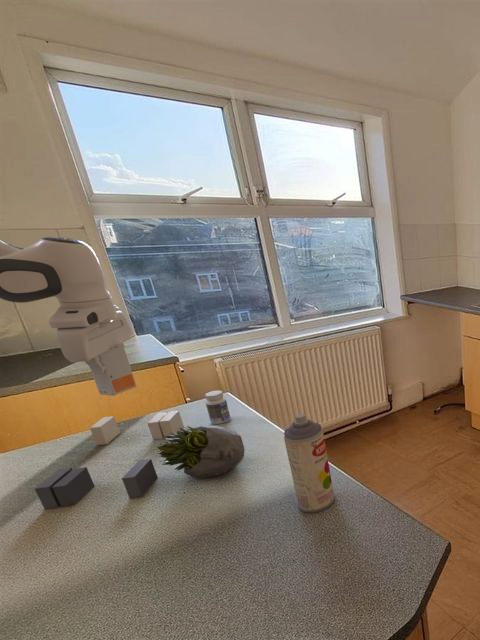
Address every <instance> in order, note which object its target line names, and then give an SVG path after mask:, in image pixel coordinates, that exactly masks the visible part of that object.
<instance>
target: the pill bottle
mask: <svg viewBox="0 0 480 640" xmlns="http://www.w3.org/2000/svg"><path fill="white" fill-rule="evenodd" d="M204 396H205V406H206V409H207V413H208V416H209V421H210V423H211V424H214V425H218V424H219V425H220V424H225V423H227V422H228V421H230V420H231V414H230V411H229V406H228V401H227V399H226V397H225V396H224V392H223V391H222V390H212V391H209V392H207V393H205V394H204Z"/></svg>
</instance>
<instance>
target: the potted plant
mask: <svg viewBox="0 0 480 640" xmlns="http://www.w3.org/2000/svg"><path fill="white" fill-rule="evenodd" d="M186 427H187V429H184V428H183V429H182V428H180V427H179V428H180V429H181V431H177V432H176V433H177V434H173V433H171V434H172V435H171V436H169V435H167V436H166V437H167V438H163V439H162V440H164V442H160V443H159V445H160V446H157V447H156V449H157V450H159V451H158V453H157V455H158V456H157V457H159V458H164V459H162V460H161V461H159V462H162V465H163V466H175V465H178V466H177V467H175V468H174V470H176V471H177V472H178V471H181V470H183V473H184V474H185V475H188V476H190V477H191V478H194V479H201V478H208V477H214V476H219V475H223V474H224V473H226V472H228V471H230V470H232V469H233V468H235V467H237V466H238V465H239V464H241V462H242V460H243V459H244V457H245V446H244V442H243V439H242V436H241V434H240V433H238V431H235V430H232V429H230V428H227V427H224V426H218V425H212V424H210V425H203V426H198V427H197V426H196V427H191V426H189V425H186Z"/></svg>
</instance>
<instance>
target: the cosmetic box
mask: <svg viewBox="0 0 480 640" xmlns="http://www.w3.org/2000/svg"><path fill="white" fill-rule="evenodd" d="M123 343H124V342H123ZM123 343H122V342H116V343H114V344H112V345H110V347H109V350H108V351H106V352H104V353H102V354H101V355H99V360H98V361H99V362H100V364H101V365H105V369H106V372H105V373H103V374H98V375H96V374H94V373H93V370H92V368H91V367H90V366H89V370H90V372H91V374H92V378H93V380H94V383H95V386H96V389H97V391H98V394H99V395H101V396H102V395H103V396H113V397H114V396H117V395H119V394H122V393H124V392H126V391H129V390H133V389H136V388H137V383H136V379H135V377H134V374H133V371H132V368H131V365H130V361H129V357H128V355H127V352H126V350H125V345H124V346H123Z"/></svg>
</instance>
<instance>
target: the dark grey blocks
mask: <svg viewBox="0 0 480 640" xmlns="http://www.w3.org/2000/svg"><path fill="white" fill-rule="evenodd" d="M158 477H159V476H158V474H157V471H156V469H155V465H154V462H153V461H152V458H146V459H139V460H138V461H137V462H136V463H135V464H134V465H133V466H132V467H131V468H130V469H129V470H128V471H127V472H126V473H125V474H124V475H123V477H122V478H121V480H122V483H123V485H124V488H125V490H126V493H127V496H128V498H129V499H136V498H137V499H138V498H143V496H144V495H145V494H146V493H147V492H148V491H149V490H150V488H151V487H152V486H153V485H154V483H155V482H156V481H157V480H158V479H159V478H158ZM94 487H95V483H94V481H93V479H92V476H91V474H90V472H89V469H88V467H87V466H84V467H75V468H72V467H64V468H58V469H57V470H55V471H54V472H53V473H52V474H51V475H50V476H48V477H47V478H46V479H44V480H43V481H42V482H41V483H40V484H38V485H37V486H36V487H35V488H34V490H35V491H34V492H35V493H36V494H37V495H36V496H37V497H38V498H39V501H40V502H41V505H42V507H43V509H44V510H52V509H58V508H59V507H61V508H64V507H71V506H75V505H76V504H78V502H80V500H81V499H83V498H84V497H85V496H86V494H88V493H89V492H90V491H91V490H92V489H93V488H94Z"/></svg>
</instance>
